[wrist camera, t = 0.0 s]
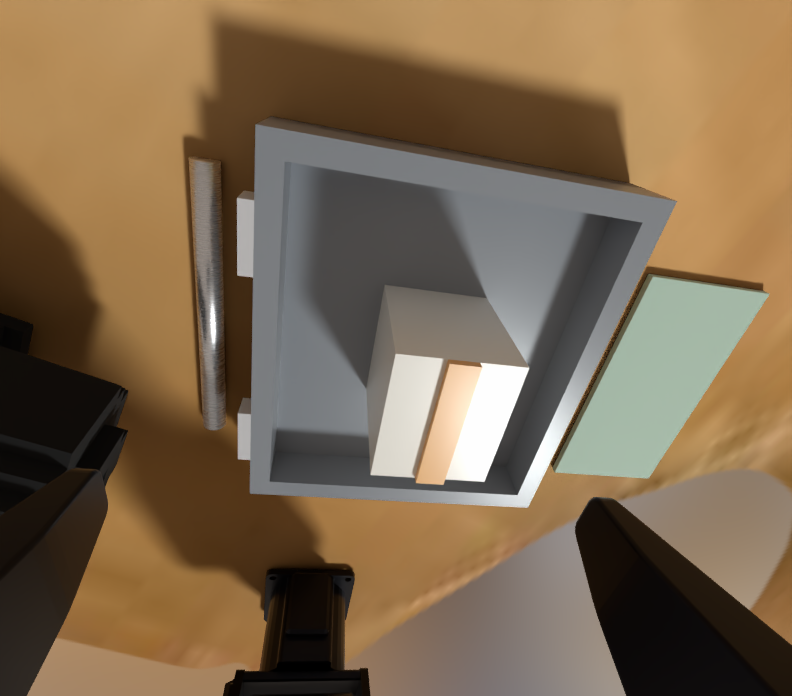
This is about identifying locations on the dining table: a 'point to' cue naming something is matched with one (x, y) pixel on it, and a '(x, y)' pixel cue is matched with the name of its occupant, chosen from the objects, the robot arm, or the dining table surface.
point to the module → (439, 386)
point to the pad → (656, 374)
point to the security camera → (51, 418)
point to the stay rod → (209, 285)
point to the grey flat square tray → (426, 270)
